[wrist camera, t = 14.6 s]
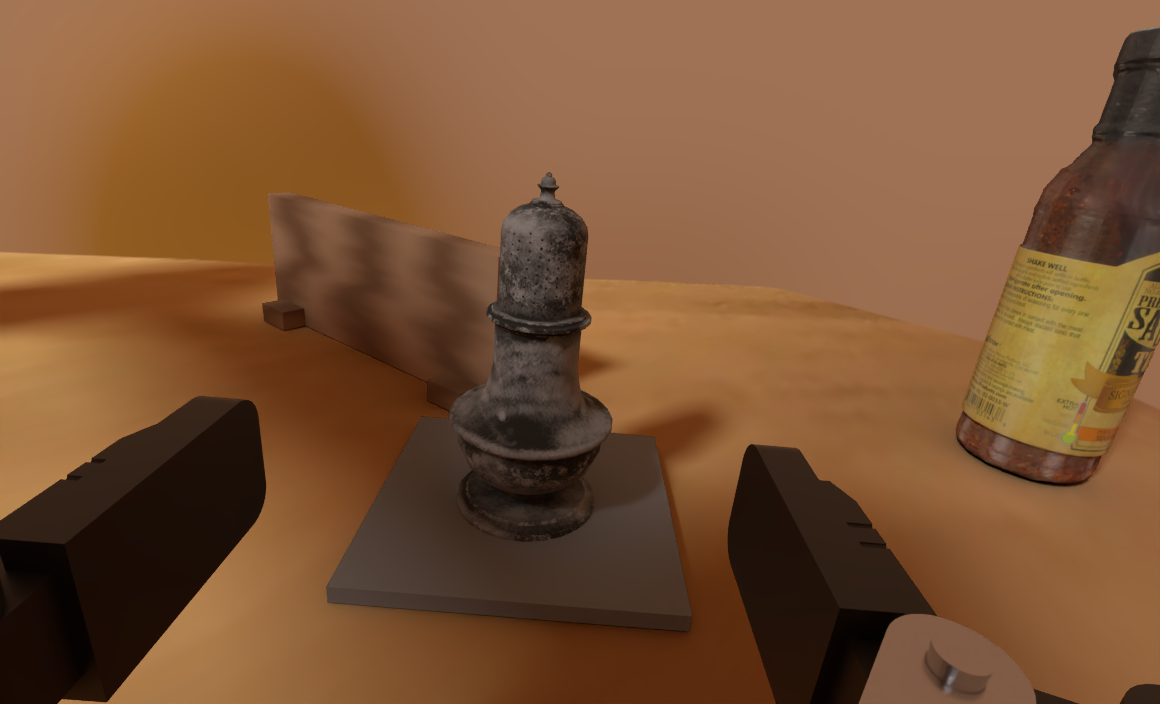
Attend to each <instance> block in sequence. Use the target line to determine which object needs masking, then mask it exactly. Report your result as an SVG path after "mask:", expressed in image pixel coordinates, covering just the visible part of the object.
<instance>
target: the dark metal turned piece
mask: <svg viewBox="0 0 1160 704" xmlns="http://www.w3.org/2000/svg"><path fill="white" fill-rule="evenodd" d="M538 186H539V187H540V189H541V194H540V198H534V199H533V200H532V201H531V202H530V203H528V204H524V205H521V206H519V207H517V208H515V209H514V210H512V211H511V212H509V214H508V215H507V216H506V218H505V219H504V221H503V224H502V229H501V247H500V269H499V291H498V300H497V301H495V302H493V303H491V304H490V305H489V306H488V307H487V309H486V315H487V317H488V318H489V319H490V320H491V321H492V322H494V323H495V329H494V352H493V365H492V369H491V372H490V376H489V379H488V382H487V384H484V385H481V386H478V387H476V388H473V389H471V390H468V391H467V392H465V393H464V394H463V395H461V396H460V397H459V398H457V399H456V401H455V402H454V404H453V405H452V407H451V408H450V417H449V422H450V424H451V426H452V428H453V430H454V432H455V433H456V434H457V435H458V443H459V445H460V447H461V450H462V452H463V454H464V456H465V459H466V461H467V463H468V465H469V467H470V468H471V469H472V470H471V471H470V472H469V473H468V474H467V475H466V476H465V477H464V478H463V479H462V480H461V482H460V484H459V486H458V488H457V493H456V504H457V506H458V509H459V511H460V513H461V515H462V516H463V517H464V518H465V519H466V520H467V521H468V522H469V523H470V524H471V525H472V526H474V527H475V528H477V529H479V530H481V531H482V532H484V533H486V534H489V535H492V536H495V537H498V538H501V539H506V540H513V541H521V542H530V541H545V540H550V539H554V538H559V537H562V536H564V535H566V534H569V533H571V532H573V531H575V530H577V529H578V528H579V527H581V526H582V525H583V524H584V523H585V522H587V520H588V519H589V517H590V515H591V514H592V512H593V509H594V500H595V496H594V493H593V490H592V487H591V486H590V484H589V483H588V482H587V481H586V479H585V478H584V477H583V475H585V473H586V472H587V470H588V469H589V468H590V466H591V464H592V463H593V461H594V459H595V458H596V456H597V455H598V453H599V451H600V445H601V444H602V443H603V442H604V441H605V440H606V438H607V437H608V436H609V434H610V433H611V429H612V417H611V415H610V413H609V411H608V409H607V408H606V407H605V406H604V405H603V404H602V403H601V402H600V401H599V400H598V399H596V398H595V397H593V396H591V395H590V394H588V393H586V392H584V391H581V390H580V385H579V378H578V370H577V369H578V358H579V348H580V338H581V330H583V329H585V328H586V327H588V326H589V325H590V324H591V318H592V317H591V315H590V314H589V312H588V311H586V310H585V309H584V308H582V307H581V305H582V295H583V285H584V274H585V265H586V254H587V244H588V230H587V226H586V224H585V223H584V221H583V219H582V218H581V217H580V216H579V215H578V214H576V213H575V212H574V211H573V210H571V209H569V208H567V207H565V206H564V205H563V204H562V202H561V201H559V200H556V199H555V194H554V193H555V190H557V189H558V188H559V186H557V185H556V181H555V179H554V178H553V177H552V174H551V173H550V172H548V173H547V174H546V177H543V178H542V182H541V184H538Z"/></svg>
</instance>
